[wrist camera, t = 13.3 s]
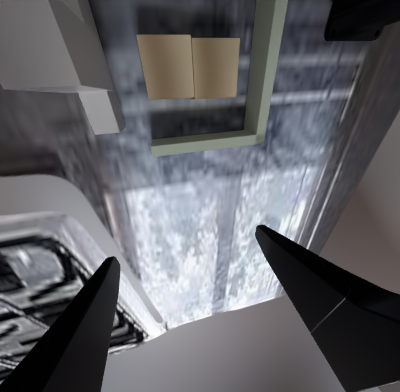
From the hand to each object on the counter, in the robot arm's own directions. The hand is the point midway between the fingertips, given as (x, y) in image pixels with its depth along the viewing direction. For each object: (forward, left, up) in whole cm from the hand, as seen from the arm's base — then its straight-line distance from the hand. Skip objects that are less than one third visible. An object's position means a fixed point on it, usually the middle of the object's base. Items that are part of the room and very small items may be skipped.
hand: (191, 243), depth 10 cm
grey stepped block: (+5, -10, -12) cm, 17 cm away
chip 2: (-5, -9, -12) cm, 16 cm away
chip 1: (-1, -10, -12) cm, 16 cm away
